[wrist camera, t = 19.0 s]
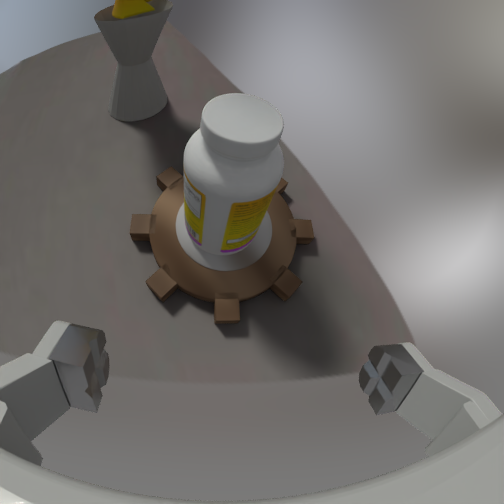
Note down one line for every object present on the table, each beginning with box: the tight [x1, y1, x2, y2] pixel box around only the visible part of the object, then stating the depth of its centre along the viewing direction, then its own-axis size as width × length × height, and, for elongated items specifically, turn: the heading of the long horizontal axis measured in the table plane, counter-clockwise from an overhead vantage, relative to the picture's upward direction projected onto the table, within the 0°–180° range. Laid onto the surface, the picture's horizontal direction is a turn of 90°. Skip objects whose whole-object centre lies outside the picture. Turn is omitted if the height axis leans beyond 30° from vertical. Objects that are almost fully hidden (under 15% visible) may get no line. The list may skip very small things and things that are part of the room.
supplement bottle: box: [183, 93, 284, 255], centre depth 20 cm, size 7×7×13 cm
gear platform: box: [130, 167, 314, 324], centre depth 27 cm, size 18×18×2 cm
